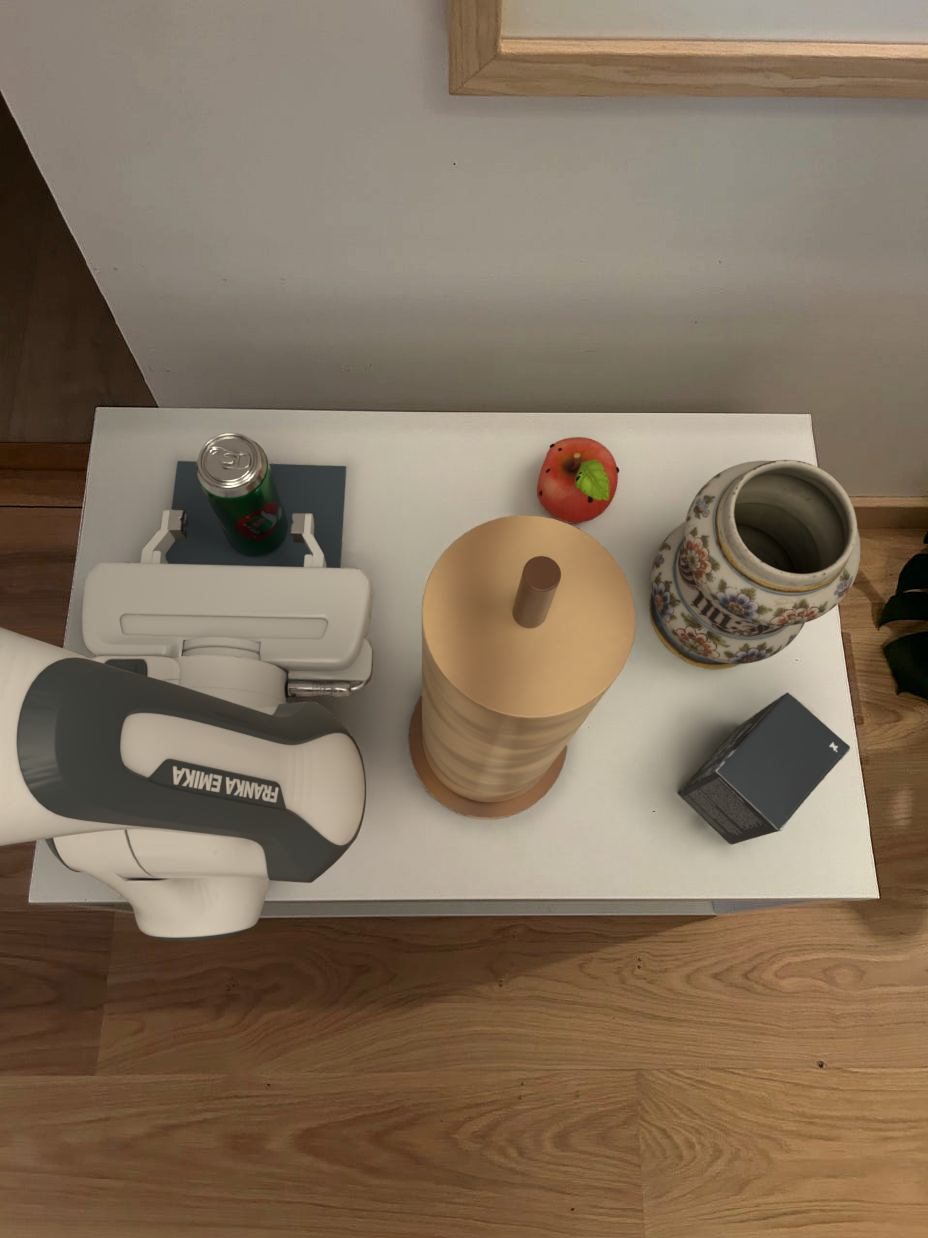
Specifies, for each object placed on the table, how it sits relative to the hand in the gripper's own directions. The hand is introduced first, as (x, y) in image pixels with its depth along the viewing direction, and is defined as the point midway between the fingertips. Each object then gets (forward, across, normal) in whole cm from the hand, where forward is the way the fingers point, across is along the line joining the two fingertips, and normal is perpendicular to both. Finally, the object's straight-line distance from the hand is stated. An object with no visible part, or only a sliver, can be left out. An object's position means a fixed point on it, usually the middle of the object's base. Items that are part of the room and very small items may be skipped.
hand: (240, 514), depth 70 cm
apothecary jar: (-4, -37, +7) cm, 38 cm away
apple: (+5, -26, +7) cm, 27 cm away
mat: (+2, 0, +7) cm, 7 cm away
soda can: (+2, 0, +7) cm, 7 cm away
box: (-18, -38, +7) cm, 43 cm away
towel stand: (-15, -19, +7) cm, 25 cm away
